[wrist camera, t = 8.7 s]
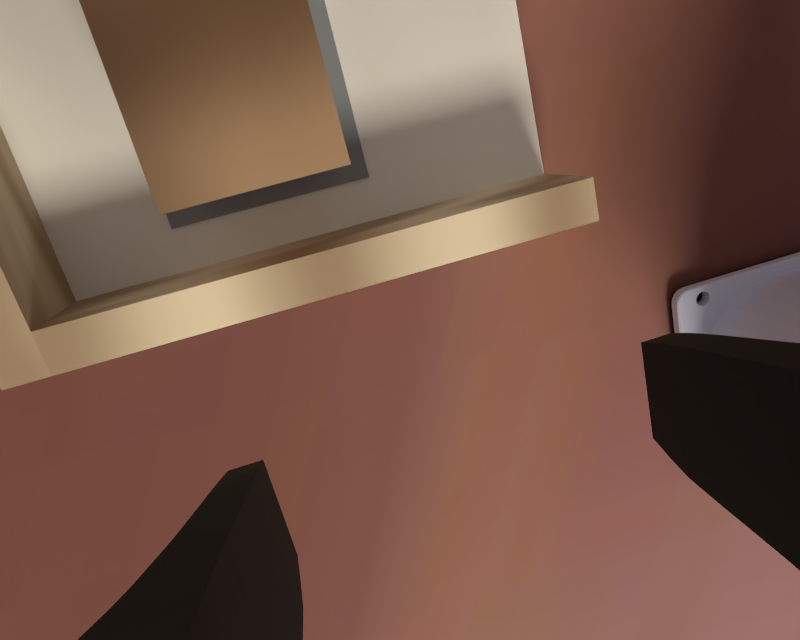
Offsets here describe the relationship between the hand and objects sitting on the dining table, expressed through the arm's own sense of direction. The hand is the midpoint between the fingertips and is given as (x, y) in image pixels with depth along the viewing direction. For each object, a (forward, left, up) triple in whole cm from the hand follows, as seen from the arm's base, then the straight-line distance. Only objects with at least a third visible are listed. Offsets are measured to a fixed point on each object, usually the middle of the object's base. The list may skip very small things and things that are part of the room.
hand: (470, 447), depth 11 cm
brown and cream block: (+2, -8, -9) cm, 12 cm away
